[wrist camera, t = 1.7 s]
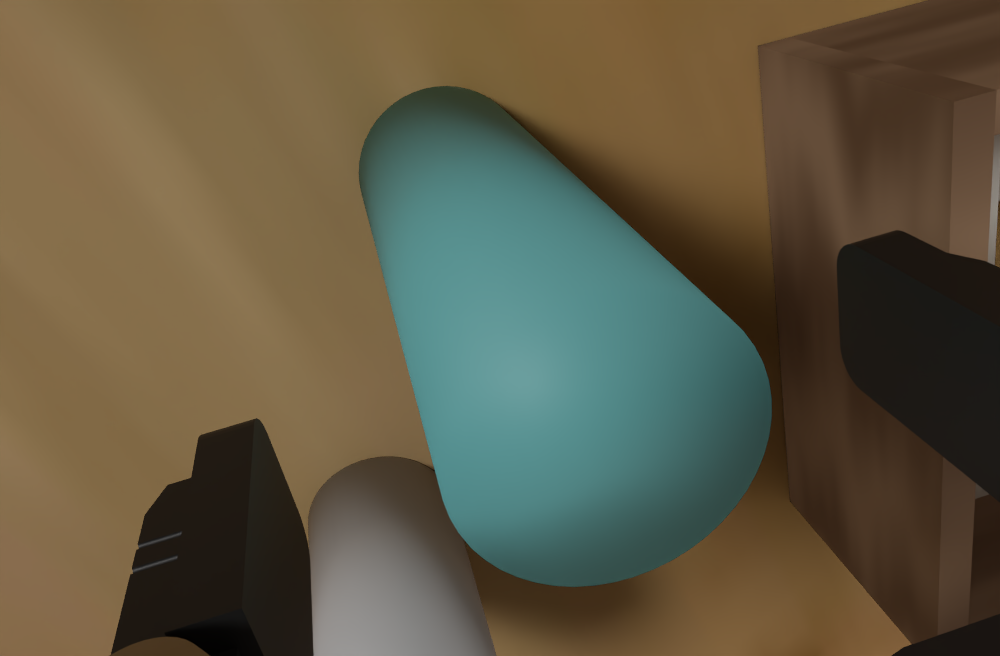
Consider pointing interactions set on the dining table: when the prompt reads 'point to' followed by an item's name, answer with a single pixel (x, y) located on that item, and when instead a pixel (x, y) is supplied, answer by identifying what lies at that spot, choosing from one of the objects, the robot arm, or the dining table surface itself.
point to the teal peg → (553, 352)
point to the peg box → (814, 295)
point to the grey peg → (391, 567)
